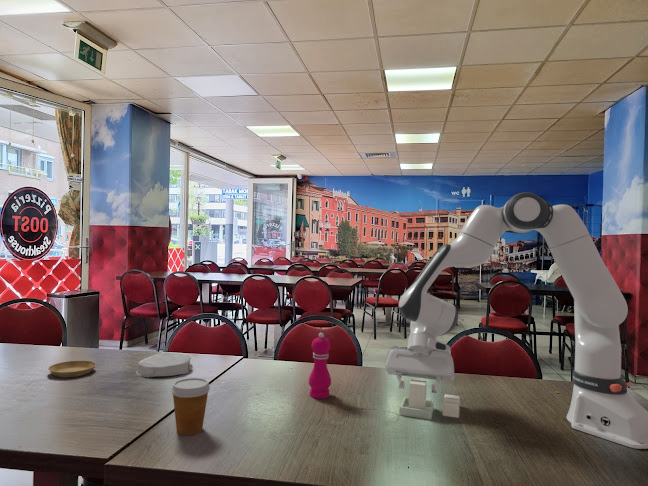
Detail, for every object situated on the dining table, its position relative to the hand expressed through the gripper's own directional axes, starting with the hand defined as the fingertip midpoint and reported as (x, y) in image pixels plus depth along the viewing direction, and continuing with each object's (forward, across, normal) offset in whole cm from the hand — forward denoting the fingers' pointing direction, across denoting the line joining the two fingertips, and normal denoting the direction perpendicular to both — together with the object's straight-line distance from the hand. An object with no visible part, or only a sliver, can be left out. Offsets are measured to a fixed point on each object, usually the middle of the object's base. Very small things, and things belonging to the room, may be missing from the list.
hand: (417, 389), depth 128 cm
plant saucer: (+12, -119, -2) cm, 120 cm away
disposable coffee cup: (+29, -53, -20) cm, 64 cm away
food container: (+1, -92, +9) cm, 93 cm away
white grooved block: (+1, +10, +8) cm, 13 cm away
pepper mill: (+3, -31, +6) cm, 32 cm away
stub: (+4, 0, +5) cm, 6 cm away
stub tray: (+4, 0, +5) cm, 7 cm away
